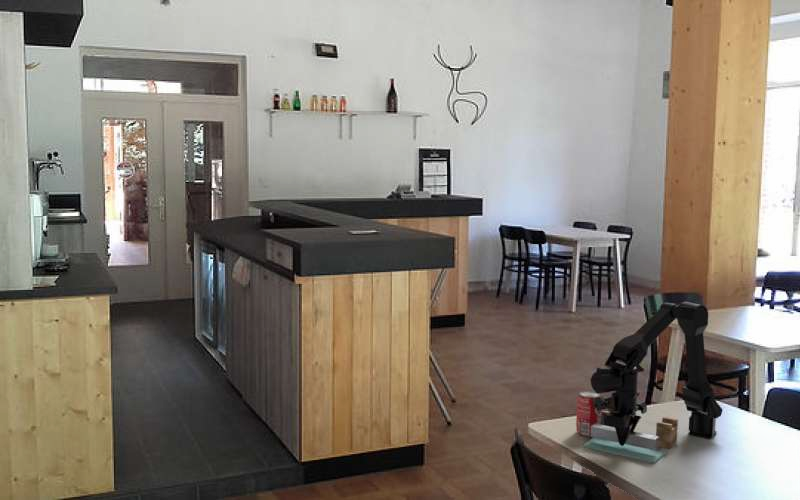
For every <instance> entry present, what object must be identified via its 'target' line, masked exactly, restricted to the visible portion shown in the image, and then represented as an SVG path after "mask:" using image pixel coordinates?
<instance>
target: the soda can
mask: <svg viewBox="0 0 800 500" xmlns="http://www.w3.org/2000/svg"><path fill="white" fill-rule="evenodd" d="M597 396H598V397H600V396H601V393H596V392H595V391H590V390H584V391H580V392H579V395H578V397H577V401H576V402H577V403H576V419H575V420H576V422H575V423H576V424H575V425H576V432H577V433H578V434H579V435H581V436H583V437H587V438H592V437H591V426H592V425H593V424H595V423H596V424H600V425H601V418H602V411H603V410H601V411H597V410H596V408H595V407H593V401H594V399H595V397H597Z"/></svg>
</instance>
